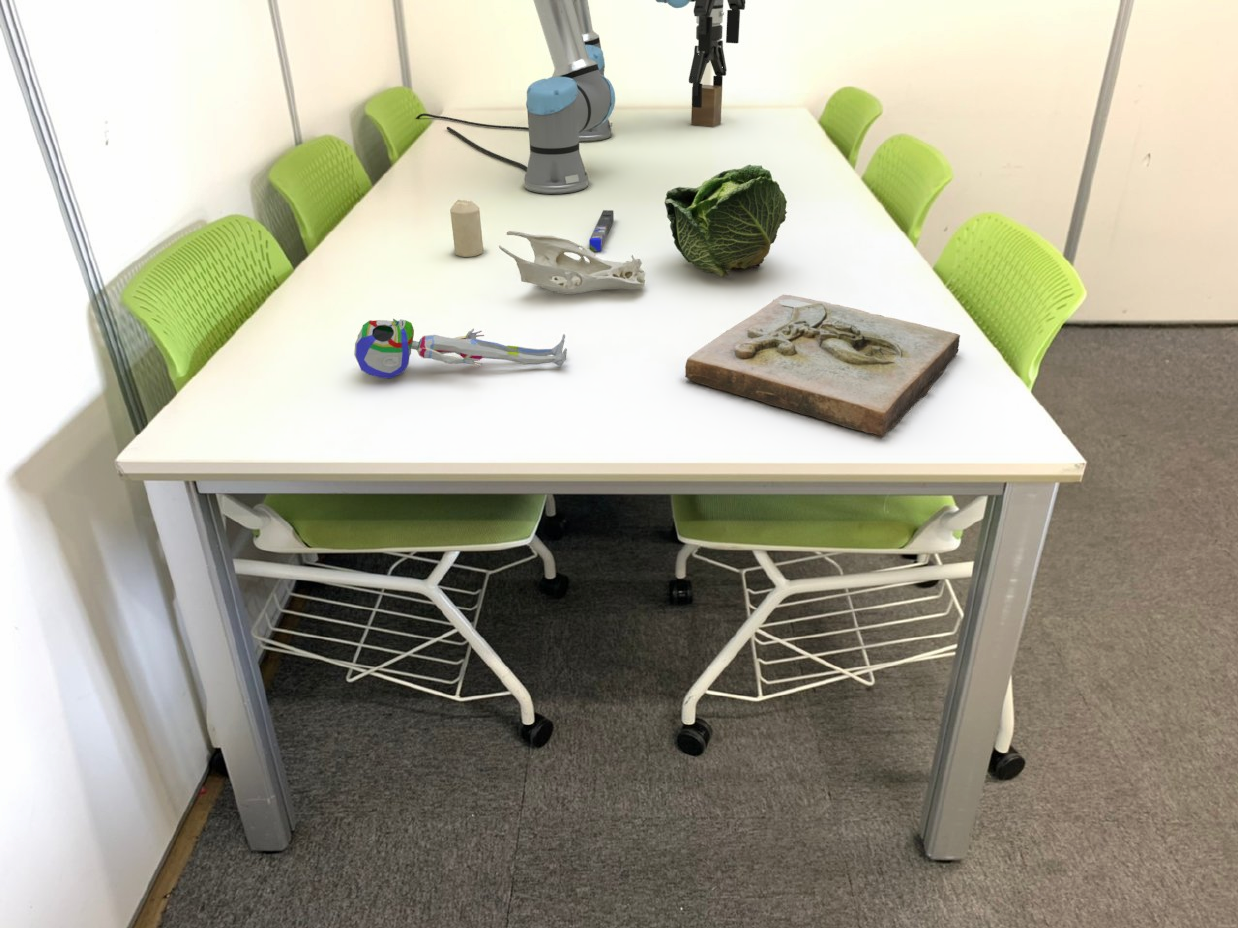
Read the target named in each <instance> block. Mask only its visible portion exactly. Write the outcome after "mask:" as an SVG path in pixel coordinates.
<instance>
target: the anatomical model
mask: <svg viewBox="0 0 1238 928" xmlns="http://www.w3.org/2000/svg"><path fill="white" fill-rule="evenodd" d="M506 235H507V236H516V237H520V238H523V239H527V241H529V242H530V247H531V249H532V251H533V254H534V255H533V256H534V261H533V262H532V261H529V260H526V259H523V258H521V257H519V256H517V255H516V254H514V253H512V252H510V251H509V250H507V248H505V247H503V246H502V245H500V244H499V245H498V248H499V250H501V251H502V252H503V253H505V254H506V255H508V256H509V257H511V258H512V259H514V261H515V262H516V266H517V269H518V272H519V274H520V282H522V283H527V284H532V285H534V286H535V285H536V286H538V287H539V288H541V289H544V290H547V291H550V292H552V293H556V294H565V295H577V294H581V293H585V292H590V291H598V290H599V291H600V290H616V289H617V290H637V289H642V288H644V287H645V285H646V279H645V277H646V272H645V270H644V269H642V268H641V266H642V264H643V262H642V261H641V260H642V259H640V258H634V255H633V254H632V255H631V259H632V260H631V261H630V260H627V261H625V262H622V261H613V260H605V259H601V258H599V257H597V256H596V253H595V252H594V251H591V250H589V248H587V247H585V246H584V245H581V244H578V243H577V242H574V241H572V240H570V239H566V238H561V237H558V236H554V235H541V234H532V233H525V232H522V231H521V232H520V231H516V230H507V231H506ZM580 248H581V249H580ZM565 253H571V254H575V255H577V256H579V257H580V258H579V259H575V258H572V257H571V256H570V255H569V256H568V255H567V254H565ZM584 257H585V258H586V259H587V260H588V261H587V260H585V258H584Z"/></svg>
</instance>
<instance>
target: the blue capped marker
mask: <svg viewBox="0 0 1238 928" xmlns="http://www.w3.org/2000/svg"><path fill="white" fill-rule="evenodd" d="M614 216H615V215H614V210H613V209H612V210H611V209H602V212H601V214H600V216H599V219H598V221H597V222H596V225H595V227H594V229H593V231H592V234H591V236H590V237H589V241H588V243H589V244H588V245H589V246H588V247H589V248H588V249H589V250H591V251H592V252H601V251H602V249H603V247H604V245H605V242H606V239H607V237H608V235H609V232H610V231H611V228H612V226H613V223H614Z"/></svg>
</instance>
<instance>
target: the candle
mask: <svg viewBox="0 0 1238 928" xmlns="http://www.w3.org/2000/svg"><path fill="white" fill-rule="evenodd" d="M449 212H450V213H449V214H450V222H451V228H452V231H451V232H452V239H453V247H454V253H455V255H457V256H459V257H465V258H466V257H467V258H468V257H475V256H479V255H481V254H483V252H484V242H483V234H482V233H483V232H482V231H483V230H482V222H481V221H482V220H481V212H480V207H479V205H478V204H476V203H475V202H474V201H472V200H470V201H468V200H465V199H464V200H462V199H457V200H456V201H455V202H454V203H453V205H452V206H451V207H450V209H449Z"/></svg>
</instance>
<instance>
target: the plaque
mask: <svg viewBox="0 0 1238 928" xmlns="http://www.w3.org/2000/svg"><path fill="white" fill-rule="evenodd" d="M960 338H961V335H960V334H959V333H955V332H952V331H948V330H945V329H939V328H936V327H931V326H927V325H923V324H920V323H916V322H911V321H907V320H906V321H905V320H901V319H898V318H895V317H887V316H884V315H881V314H874V313H871V312H867V311H865V310H861V309H856V308H852V307H848V306H844V305H840V304H834V303H830V302H826V301H823V300H822V301H821V300H817V299H811V298H807V297H801V296H796V295H791V294H781V295H779V296H778V297H776V298H775V299H773V300H772V301H771V302H770V303H768V304H767V305H765V306H763V307H762V308H761V309H759V310H758V311H757V312H755V313H753V314H751V315H750V316H749V317H747V318H746V319H743V320H742V321H741V322H739V323H738V324H735V325H734V326H733V327H731V328H729V329H728V330H726V331H724V332H723V333H721V334H720V335H719V336H717V337H716V338H714V339H713V340H711V341H710V342H708V343H707V344H705V345H704V346H702V347H701V348H699V349H697V350H696V351H695V352H694V353H693V354H691V355H690V356H689V357H688V358H687V360H686V362H685V367H684V368H685V371H684V372H685V374H684V375H685V376H684V377H685V378H686V379H688V380H689V381H691V382H693V383H697V384H700V385H704V386H707V387H710V388H713V389H716V390H720V391H725V392H728V393H730V394H733V395H737V396H742V397H745V398H747V399H751V400H755V401H758V402H761V403H764V404H767V405H770V406H774V407H777V408H782V409H784V410H785V409H786V410H789V411H792V412H795V413H798V414H800V415H802V416H803V415H804V416H809V417H812V418H816V419H820V420H823V421H826V422H829V423H833V424H836V425H839V426H841V427H845V428H849V429H852V430H856V431H860V432H864V433H867V434H874V435H877V436H879V437H881V438H882V437H883V436H884V435H885V433H887V432H888V431H890V430H891V429H893V428H894V427H895V426H896V425H897V424H898V423H900V421H901V420H902V419H903V418H904V416H905V415H906V413H908V411H909V410H910V409H911V407H913V406H914V405H915V403H916V402H918V400H919V399H920V398H921V397H923V396H925V395H926V394H927V393H928V391H930V389H931V387H932V386H933V384H934V383H935V382H936V381H937V380H938V379H939V378H940V377H941V376H942V375H943V373H944V371H945V369H946V368H947V366H948V364H949V363H950V362H951V361H952V359H953V358H954V357H955V356H956V355H957V354H958V353H959V346H960Z"/></svg>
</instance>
